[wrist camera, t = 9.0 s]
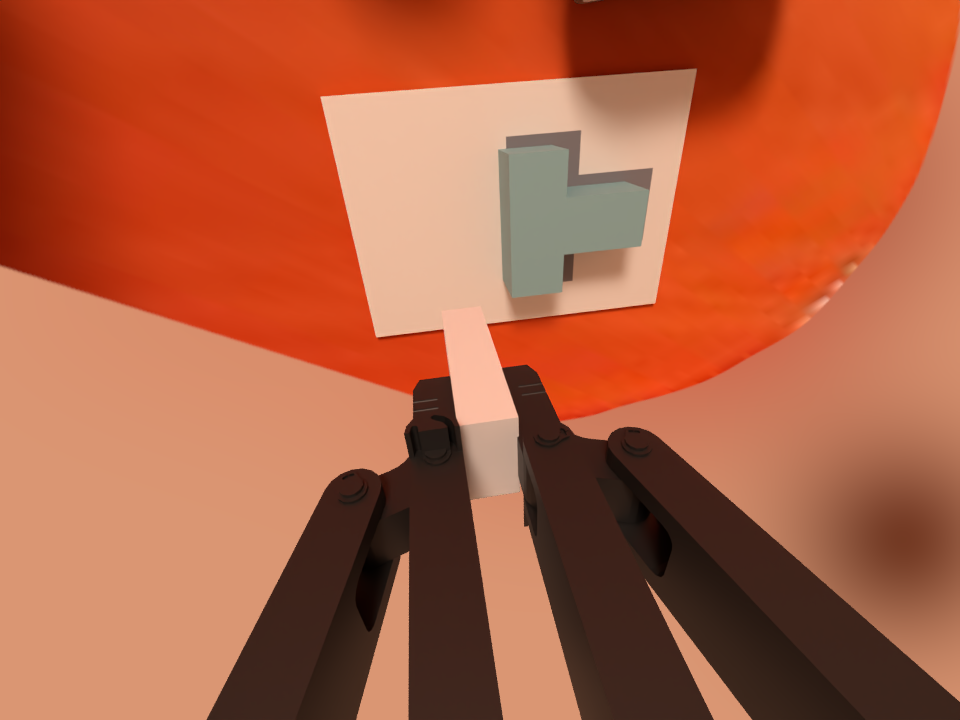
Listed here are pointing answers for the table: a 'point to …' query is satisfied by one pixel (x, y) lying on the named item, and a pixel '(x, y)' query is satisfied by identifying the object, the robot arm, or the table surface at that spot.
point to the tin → (585, 1)
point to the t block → (558, 217)
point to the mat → (475, 189)
